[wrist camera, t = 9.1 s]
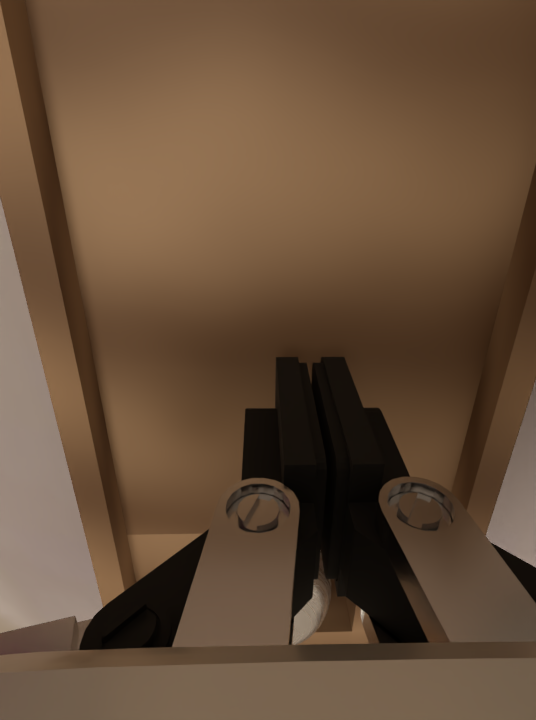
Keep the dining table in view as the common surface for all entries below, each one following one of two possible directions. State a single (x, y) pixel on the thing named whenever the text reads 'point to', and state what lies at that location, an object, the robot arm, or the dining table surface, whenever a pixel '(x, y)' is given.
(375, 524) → the robot arm
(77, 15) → the track
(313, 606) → the ball
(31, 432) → the dining table surface
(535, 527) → the dining table surface
